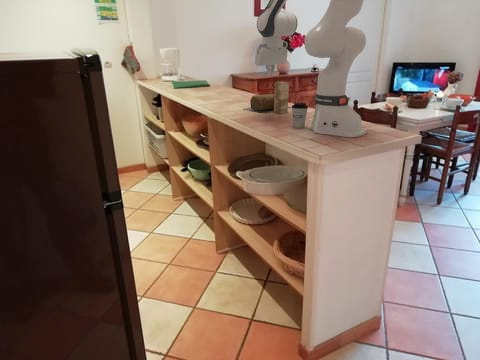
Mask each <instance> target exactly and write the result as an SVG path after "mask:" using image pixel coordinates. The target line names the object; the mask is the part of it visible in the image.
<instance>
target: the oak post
mask: <svg viewBox="0 0 480 360" xmlns="http://www.w3.org/2000/svg"><path fill="white" fill-rule="evenodd" d="M289 89H290V82H289V81H275V82H274V93H273V94H274V112H273V113H274V114H275V113H276V114H279V115H282V114H288V110H289V108H288V107H289V91H290V90H289Z"/></svg>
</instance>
